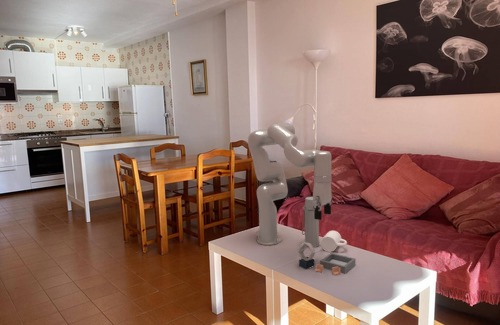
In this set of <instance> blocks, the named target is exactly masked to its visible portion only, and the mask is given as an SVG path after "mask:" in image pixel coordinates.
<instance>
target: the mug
mask: <svg viewBox="0 0 500 325" xmlns="http://www.w3.org/2000/svg"><path fill="white" fill-rule="evenodd" d="M347 244H348V242H347V240H345V239H343V238H342V236H341V234H340V233H339V232H338V231H337V230H329V231H328V232H327V233H326V234H325V235H324V236H323V237H322V238H321V240H320V247H321V249H322V250H324V252H327V253H330V252H331V253H333V252H335V250H336V249H337V247H345V246H347Z"/></svg>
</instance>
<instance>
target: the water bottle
mask: <svg viewBox="0 0 500 325" xmlns="http://www.w3.org/2000/svg"><path fill="white" fill-rule="evenodd" d="M304 200H305V201H304V206H303V207H302V209H303V216H302V217H303V218H302V225H301V226H302V227H301V234H302V236H304V242H309V243H311V244H312V246H313V247H314V248H316V247H319V244H320V242H319V241H320V240H319V239H320V238H319V237H320V236H319V235H320V227H319V226H320V220H318V219H315V218H314V208H313V196H307V197H305V199H304ZM318 204H319V203H318ZM318 207H319V206H318ZM303 230H304V231H303Z"/></svg>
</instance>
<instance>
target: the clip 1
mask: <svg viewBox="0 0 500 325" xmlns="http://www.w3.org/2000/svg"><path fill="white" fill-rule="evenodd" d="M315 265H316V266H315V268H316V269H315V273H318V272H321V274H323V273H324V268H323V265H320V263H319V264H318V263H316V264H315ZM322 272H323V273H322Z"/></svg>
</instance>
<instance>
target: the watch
mask: <svg viewBox="0 0 500 325" xmlns="http://www.w3.org/2000/svg"><path fill="white" fill-rule="evenodd" d="M307 248H309V249H310V254H309V256H306V255H305V254H304V251H305V250H306V249H307ZM297 251H298V252H297V253H298V254H299V257H300V258H301V259H299V260H298V266H299V267H300V268H302V269H304V270H308V269H310V267H311V268H313V267H315V258H314V257H315V254H316V252H315V247H313V246H312V244H311V243H309V242H305V241H304V242H301V244H299V246H298V247H297ZM312 266H313V267H312Z"/></svg>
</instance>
